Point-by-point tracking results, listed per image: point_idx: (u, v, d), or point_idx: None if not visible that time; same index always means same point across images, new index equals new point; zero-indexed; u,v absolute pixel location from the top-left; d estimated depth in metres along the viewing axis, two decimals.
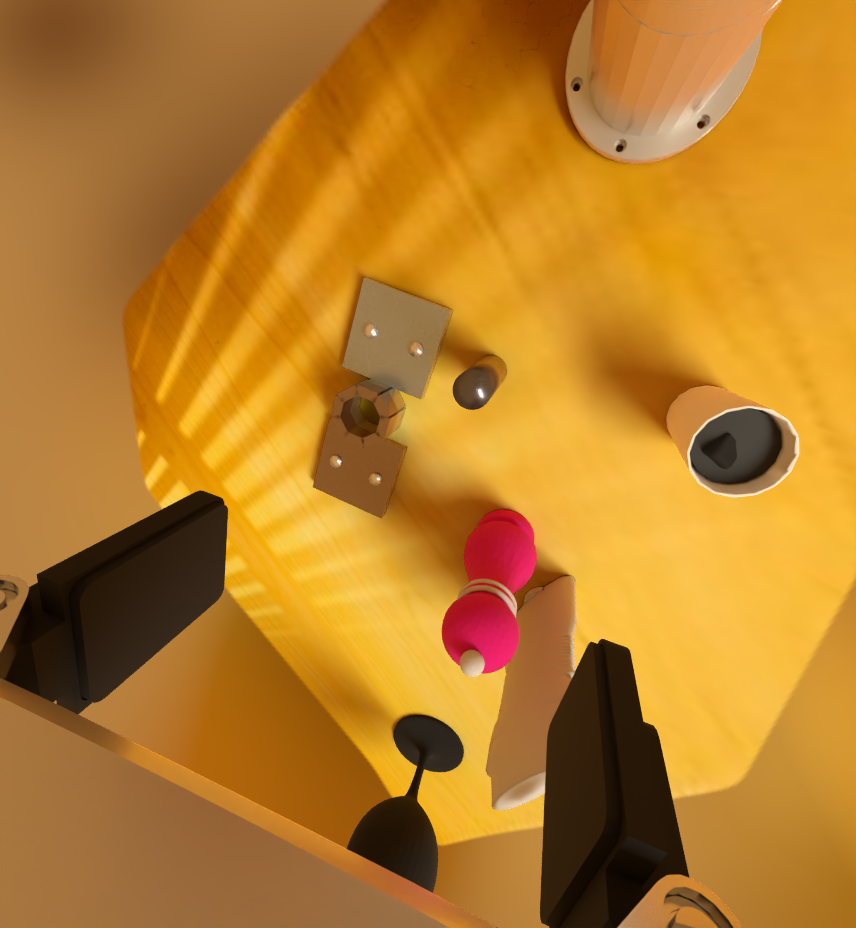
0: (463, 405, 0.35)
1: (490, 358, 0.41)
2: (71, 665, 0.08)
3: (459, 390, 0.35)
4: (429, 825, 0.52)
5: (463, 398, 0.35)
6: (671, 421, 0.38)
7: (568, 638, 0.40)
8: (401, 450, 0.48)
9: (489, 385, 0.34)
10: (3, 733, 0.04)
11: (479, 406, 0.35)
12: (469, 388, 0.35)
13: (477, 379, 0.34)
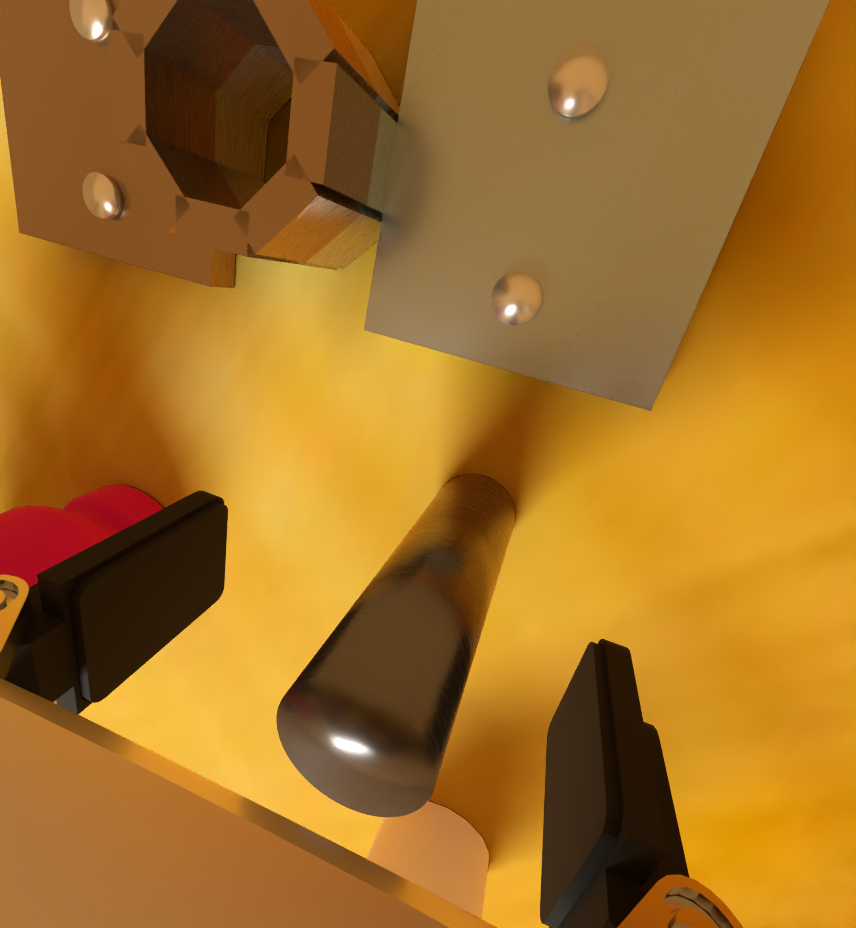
0: (285, 709, 0.08)
1: (505, 550, 0.14)
2: (71, 665, 0.08)
3: (340, 708, 0.07)
4: None
5: (313, 715, 0.08)
6: (414, 854, 0.20)
7: None
8: (209, 276, 0.16)
9: (386, 812, 0.08)
10: (4, 732, 0.04)
11: (298, 764, 0.08)
12: (358, 745, 0.08)
13: (402, 781, 0.08)
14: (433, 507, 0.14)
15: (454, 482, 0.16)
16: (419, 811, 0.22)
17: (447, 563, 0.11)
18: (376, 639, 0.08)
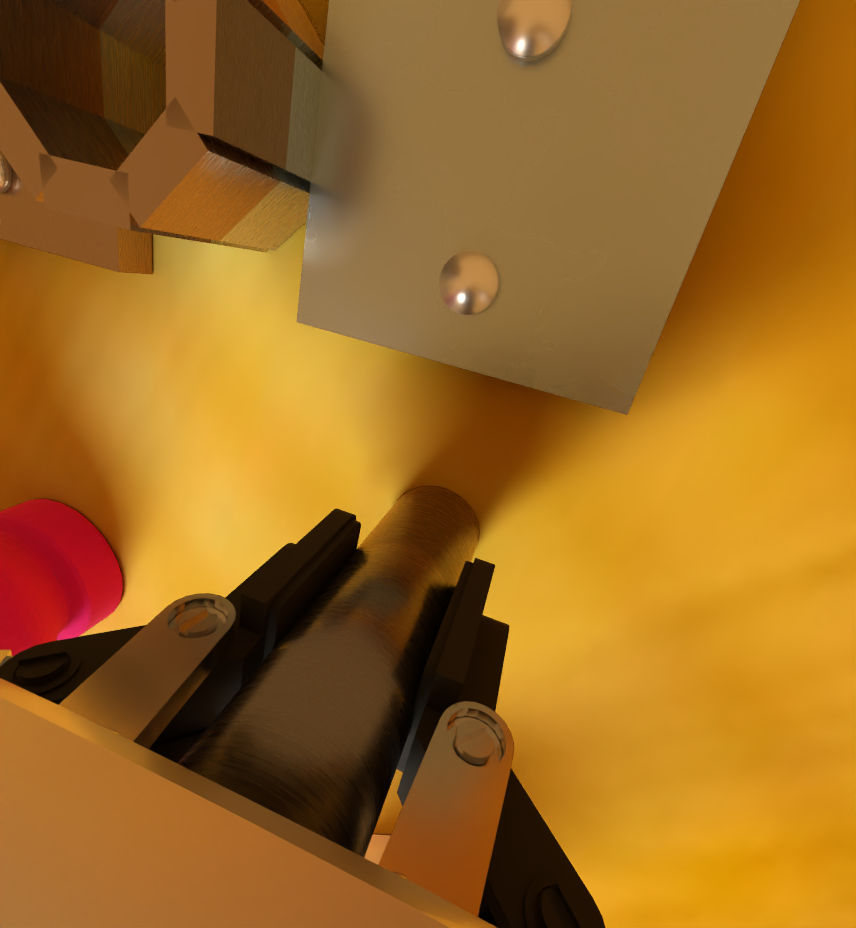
0: None
1: None
2: None
3: None
4: None
5: None
6: None
7: None
8: (117, 260, 0.13)
9: None
10: (3, 733, 0.04)
11: None
12: None
13: None
14: (379, 528, 0.12)
15: (408, 496, 0.14)
16: None
17: (381, 605, 0.09)
18: (266, 728, 0.06)
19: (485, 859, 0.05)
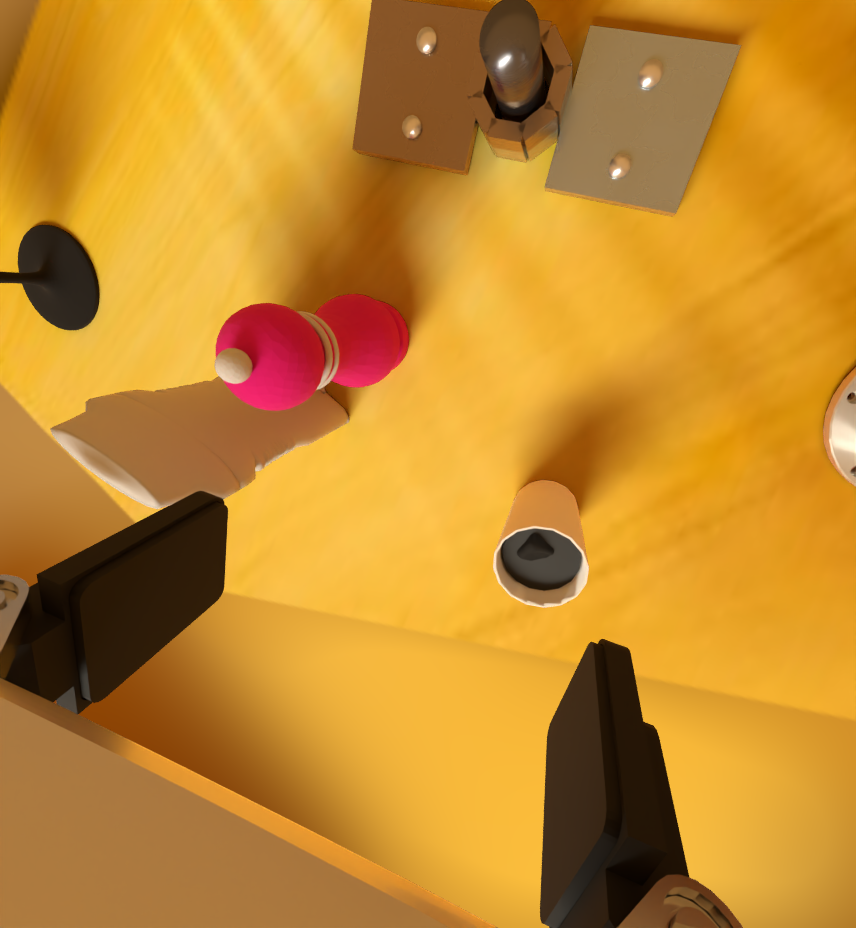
0: (484, 27, 0.23)
1: (545, 96, 0.29)
2: (71, 665, 0.08)
3: (506, 13, 0.22)
4: None
5: (495, 24, 0.23)
6: (544, 489, 0.38)
7: (291, 445, 0.35)
8: (464, 166, 0.33)
9: (518, 66, 0.23)
10: (3, 733, 0.04)
11: (485, 58, 0.23)
12: (511, 31, 0.23)
13: (526, 41, 0.23)
14: None
15: None
16: (539, 482, 0.40)
17: None
18: None
19: None
